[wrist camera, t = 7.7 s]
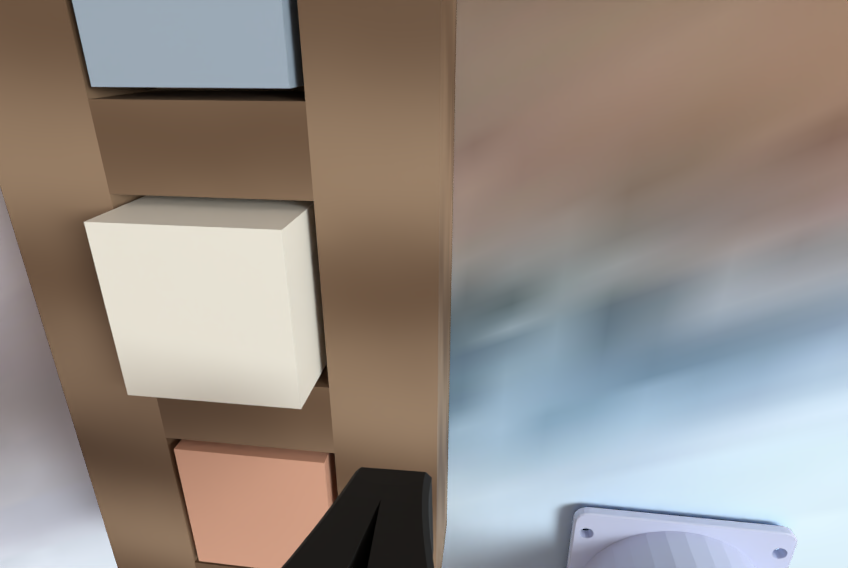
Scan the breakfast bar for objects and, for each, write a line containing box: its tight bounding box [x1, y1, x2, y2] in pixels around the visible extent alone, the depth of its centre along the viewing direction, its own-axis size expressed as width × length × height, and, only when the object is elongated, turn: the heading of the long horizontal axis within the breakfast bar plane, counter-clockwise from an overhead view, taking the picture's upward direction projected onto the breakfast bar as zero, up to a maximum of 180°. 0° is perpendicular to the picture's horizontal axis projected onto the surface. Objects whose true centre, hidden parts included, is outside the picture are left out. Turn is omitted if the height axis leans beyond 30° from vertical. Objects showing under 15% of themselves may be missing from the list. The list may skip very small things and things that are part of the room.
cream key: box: [84, 195, 327, 409], centre depth 15 cm, size 5×5×3 cm
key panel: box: [0, 0, 457, 568], centre depth 17 cm, size 24×12×4 cm, turn 0°
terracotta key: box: [174, 439, 338, 568], centre depth 20 cm, size 5×5×3 cm
